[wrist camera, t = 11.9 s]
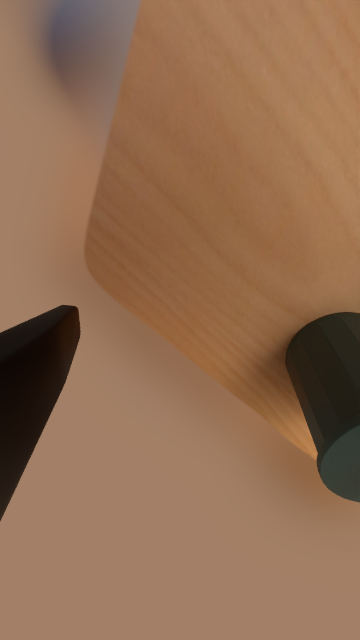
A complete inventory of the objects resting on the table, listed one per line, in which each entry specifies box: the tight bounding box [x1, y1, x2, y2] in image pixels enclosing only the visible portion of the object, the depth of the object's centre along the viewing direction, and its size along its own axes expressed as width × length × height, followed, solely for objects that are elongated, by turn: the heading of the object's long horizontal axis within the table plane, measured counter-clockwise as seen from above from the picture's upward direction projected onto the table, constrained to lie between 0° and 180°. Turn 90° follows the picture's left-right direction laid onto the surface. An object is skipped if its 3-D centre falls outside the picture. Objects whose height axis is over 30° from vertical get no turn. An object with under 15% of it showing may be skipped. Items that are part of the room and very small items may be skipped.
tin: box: [285, 312, 360, 452], centre depth 22 cm, size 8×8×9 cm
